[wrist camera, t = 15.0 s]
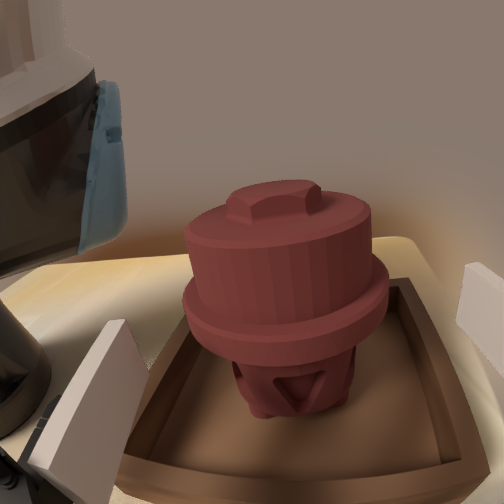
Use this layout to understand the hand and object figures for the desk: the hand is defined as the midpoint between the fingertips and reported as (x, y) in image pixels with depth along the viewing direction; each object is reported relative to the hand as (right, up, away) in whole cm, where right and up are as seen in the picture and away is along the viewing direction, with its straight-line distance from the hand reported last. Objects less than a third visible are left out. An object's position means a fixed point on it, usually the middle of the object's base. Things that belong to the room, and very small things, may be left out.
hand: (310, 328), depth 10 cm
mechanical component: (+1, -6, +7) cm, 9 cm away
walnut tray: (+1, -7, +8) cm, 10 cm away
